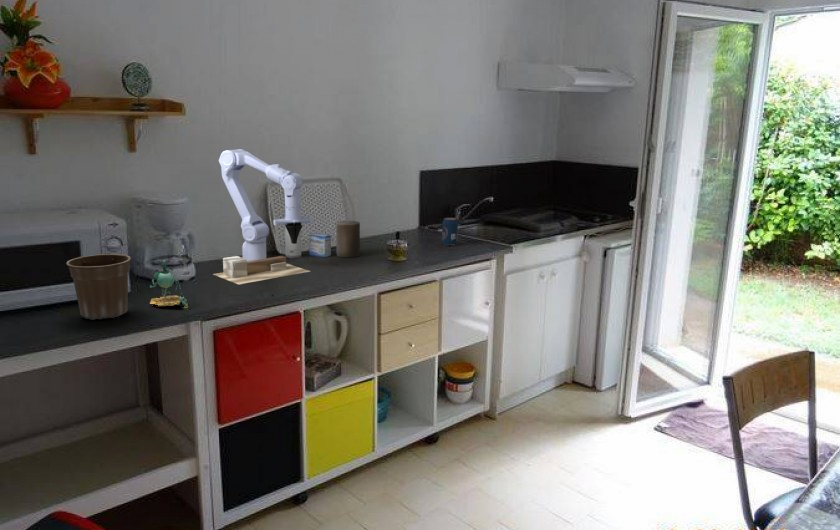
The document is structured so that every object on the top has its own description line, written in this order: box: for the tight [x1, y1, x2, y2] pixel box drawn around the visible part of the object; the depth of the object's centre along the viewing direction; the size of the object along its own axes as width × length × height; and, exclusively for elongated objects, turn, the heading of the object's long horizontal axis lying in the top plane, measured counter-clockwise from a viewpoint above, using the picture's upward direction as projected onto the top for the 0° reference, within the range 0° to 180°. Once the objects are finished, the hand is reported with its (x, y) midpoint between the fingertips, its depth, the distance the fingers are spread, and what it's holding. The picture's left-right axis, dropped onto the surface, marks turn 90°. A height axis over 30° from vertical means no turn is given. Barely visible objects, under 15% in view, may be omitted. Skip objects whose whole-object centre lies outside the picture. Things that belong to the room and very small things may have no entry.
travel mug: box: [284, 222, 302, 259], centre depth 266 cm, size 6×7×20 cm
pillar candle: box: [335, 220, 361, 259], centre depth 271 cm, size 10×10×15 cm
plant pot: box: [66, 253, 132, 319], centre depth 188 cm, size 16×16×16 cm
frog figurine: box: [149, 260, 189, 308], centre depth 200 cm, size 10×18×15 cm, turn 44°
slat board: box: [212, 255, 311, 285], centre depth 237 cm, size 18×29×7 cm, turn 134°
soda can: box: [441, 217, 459, 245], centre depth 298 cm, size 7×7×12 cm
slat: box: [247, 255, 287, 275], centre depth 240 cm, size 3×16×4 cm, turn 134°
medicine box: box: [308, 233, 332, 258], centre depth 271 cm, size 8×4×9 cm, turn 62°
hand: (294, 243), depth 247 cm, fingers closed
